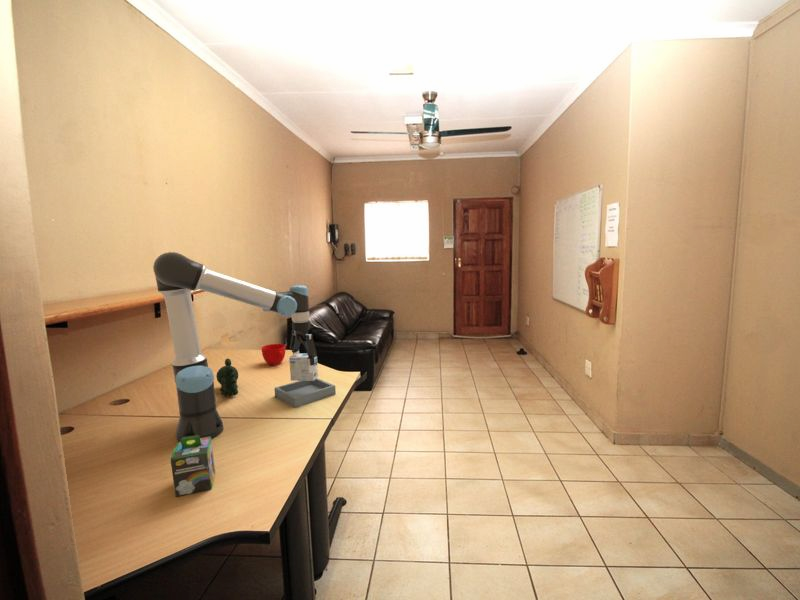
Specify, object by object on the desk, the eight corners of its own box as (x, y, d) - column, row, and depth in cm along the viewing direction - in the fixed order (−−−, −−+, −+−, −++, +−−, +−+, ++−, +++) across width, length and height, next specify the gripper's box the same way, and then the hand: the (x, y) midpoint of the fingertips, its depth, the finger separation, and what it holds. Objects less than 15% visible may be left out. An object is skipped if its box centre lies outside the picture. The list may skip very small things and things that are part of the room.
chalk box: (215, 472, 115) (211, 424, 113) (212, 490, 107) (207, 439, 105) (180, 479, 112) (175, 430, 110) (174, 498, 104) (168, 446, 102)
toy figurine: (243, 401, 172) (237, 380, 194) (240, 361, 168) (234, 344, 190) (220, 406, 168) (216, 383, 189) (216, 365, 164) (213, 346, 185)
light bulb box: (318, 376, 175) (317, 352, 174) (314, 381, 169) (312, 357, 167) (295, 375, 176) (294, 352, 175) (290, 381, 170) (288, 357, 168)
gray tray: (295, 407, 160) (294, 398, 160) (275, 396, 173) (274, 387, 173) (335, 394, 174) (335, 385, 173) (314, 384, 187) (313, 376, 186)
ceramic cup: (271, 370, 210) (270, 352, 209) (258, 363, 223) (257, 346, 222) (293, 364, 219) (292, 347, 218) (280, 359, 232) (279, 342, 230)
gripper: (323, 323, 163) (326, 372, 166) (294, 316, 180) (297, 361, 183) (308, 326, 158) (311, 377, 161) (279, 319, 175) (283, 365, 178)
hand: (304, 369), depth 172 cm, fingers closed on light bulb box, 12 cm apart
